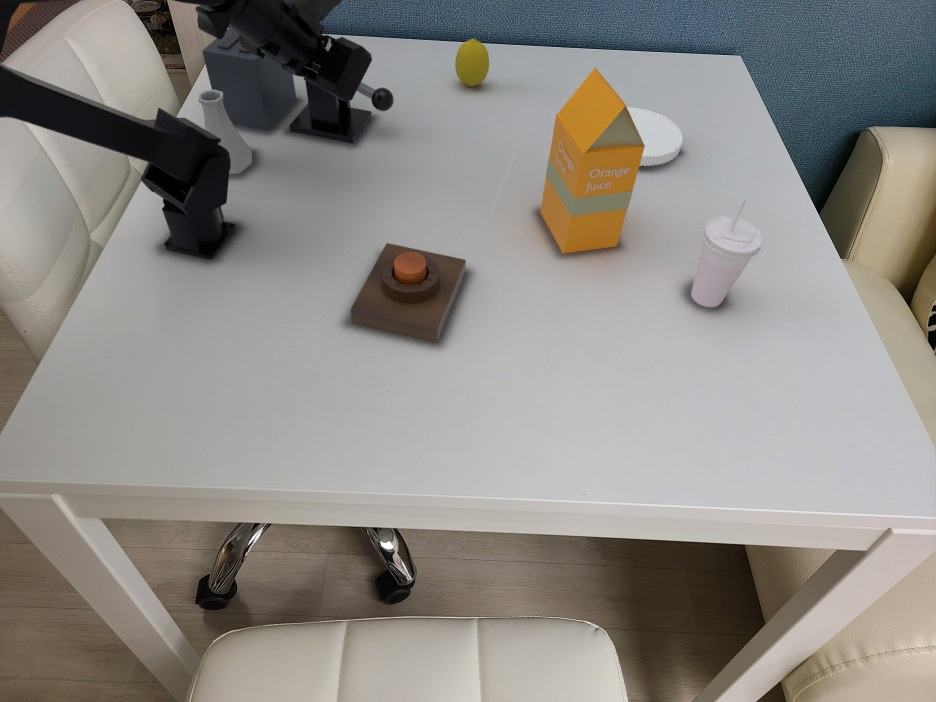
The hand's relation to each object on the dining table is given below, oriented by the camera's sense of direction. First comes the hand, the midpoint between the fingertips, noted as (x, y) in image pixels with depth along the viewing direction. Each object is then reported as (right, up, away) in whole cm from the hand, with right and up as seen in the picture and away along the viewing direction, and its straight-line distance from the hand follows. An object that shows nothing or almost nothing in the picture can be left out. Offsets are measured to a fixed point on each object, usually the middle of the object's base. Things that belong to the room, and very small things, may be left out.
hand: (343, 79), depth 89 cm
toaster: (-16, +1, +15) cm, 22 cm away
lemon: (+17, +8, +24) cm, 31 cm away
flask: (-18, -9, +6) cm, 21 cm away
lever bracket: (-4, -1, +14) cm, 14 cm away
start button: (+10, -27, -13) cm, 32 cm away
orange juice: (+31, -20, 0) cm, 37 cm away
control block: (+10, -30, -10) cm, 33 cm away
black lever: (0, +2, +9) cm, 9 cm away
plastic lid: (+42, -4, +14) cm, 44 cm away
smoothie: (+45, -29, -7) cm, 55 cm away
